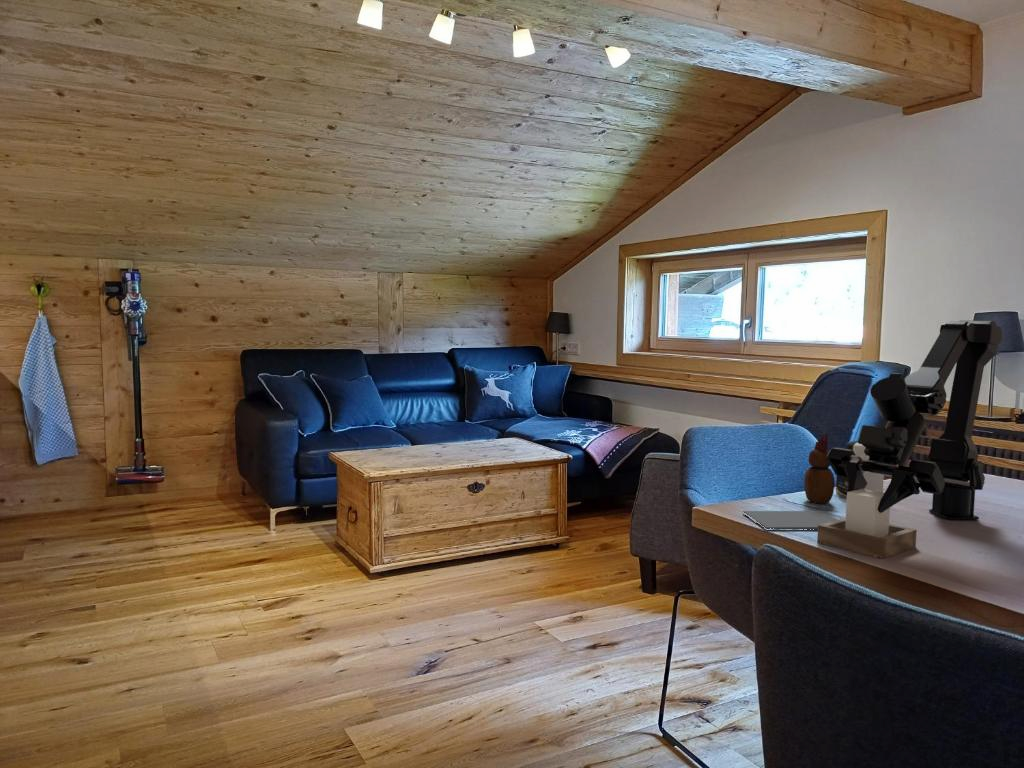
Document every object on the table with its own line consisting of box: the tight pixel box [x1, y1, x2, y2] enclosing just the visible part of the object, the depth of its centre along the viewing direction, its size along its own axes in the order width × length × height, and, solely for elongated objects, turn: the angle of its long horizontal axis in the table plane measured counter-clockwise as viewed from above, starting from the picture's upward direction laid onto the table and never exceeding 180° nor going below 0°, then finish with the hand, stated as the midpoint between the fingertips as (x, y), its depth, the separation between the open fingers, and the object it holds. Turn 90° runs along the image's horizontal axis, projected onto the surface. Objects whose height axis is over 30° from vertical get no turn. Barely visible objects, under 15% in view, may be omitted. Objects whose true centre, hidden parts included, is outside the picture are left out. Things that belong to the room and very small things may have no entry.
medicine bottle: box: [835, 440, 885, 498], centre depth 170 cm, size 7×7×12 cm
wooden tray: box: [816, 517, 918, 559], centre depth 133 cm, size 11×11×3 cm
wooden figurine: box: [803, 433, 835, 505], centre depth 163 cm, size 7×6×15 cm
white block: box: [845, 489, 891, 538], centre depth 132 cm, size 5×5×9 cm
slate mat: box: [742, 510, 839, 531], centre depth 147 cm, size 16×12×1 cm
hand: (863, 507), depth 131 cm, fingers closed on white block, 5 cm apart
